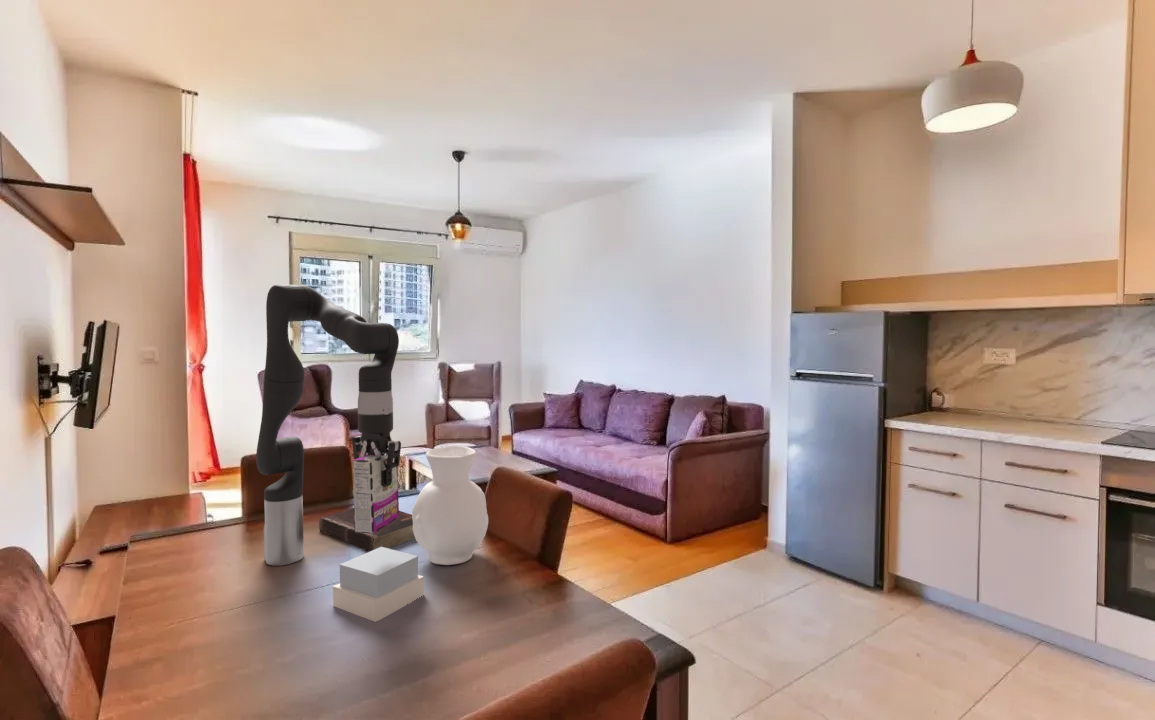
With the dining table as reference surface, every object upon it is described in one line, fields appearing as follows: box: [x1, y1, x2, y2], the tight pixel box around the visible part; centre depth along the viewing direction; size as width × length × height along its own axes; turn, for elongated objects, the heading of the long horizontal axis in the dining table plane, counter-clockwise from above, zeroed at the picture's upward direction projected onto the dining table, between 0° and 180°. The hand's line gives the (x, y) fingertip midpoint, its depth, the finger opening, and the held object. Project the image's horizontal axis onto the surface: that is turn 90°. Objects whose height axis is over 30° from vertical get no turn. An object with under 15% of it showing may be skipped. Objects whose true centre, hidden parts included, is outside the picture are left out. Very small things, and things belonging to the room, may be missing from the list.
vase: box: [411, 445, 489, 566], centre depth 151 cm, size 19×21×30 cm
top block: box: [339, 547, 419, 598], centre depth 127 cm, size 12×12×5 cm
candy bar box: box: [352, 453, 400, 534], centre depth 127 cm, size 11×5×16 cm, turn 168°
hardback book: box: [318, 507, 416, 552], centre depth 171 cm, size 29×19×5 cm, turn 53°
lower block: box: [332, 574, 425, 623], centre depth 128 cm, size 14×14×5 cm
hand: (376, 483), depth 127 cm, fingers closed on candy bar box, 6 cm apart
